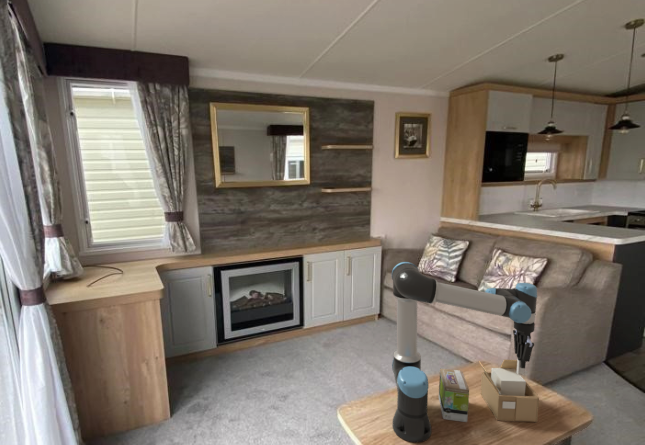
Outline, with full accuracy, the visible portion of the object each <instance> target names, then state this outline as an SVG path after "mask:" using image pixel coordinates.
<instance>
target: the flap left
mask: <svg viewBox="0 0 645 445" xmlns="http://www.w3.org/2000/svg"><path fill="white" fill-rule="evenodd" d="M478 363H479V365H480V366H481V368H482V370H483V372H485V373H486V375H487V377H488V378H489V380H490V381H491V383H492V384H493V386H494V387H495V389H496V390H497V391H498V389H497V388H496V386H495V384H494V382H493V381H492V379H491V377H490V376H489V374H488V372H489V371H487V370H486V368H485V367H484V365H483V364H482V363H481V361H480V360H478ZM498 392H499V391H498Z"/></svg>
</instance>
